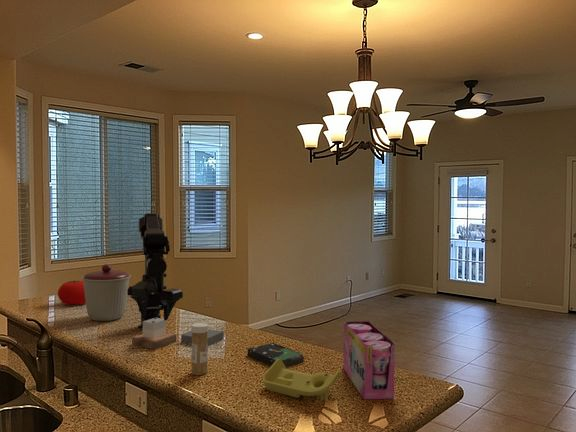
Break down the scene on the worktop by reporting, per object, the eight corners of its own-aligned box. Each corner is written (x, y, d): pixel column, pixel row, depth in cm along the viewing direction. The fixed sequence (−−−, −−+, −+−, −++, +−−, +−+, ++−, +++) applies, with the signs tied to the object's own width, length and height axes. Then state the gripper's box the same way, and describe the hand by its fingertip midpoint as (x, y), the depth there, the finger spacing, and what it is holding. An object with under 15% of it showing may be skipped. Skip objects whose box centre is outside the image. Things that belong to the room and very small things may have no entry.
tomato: (86, 299, 227) (86, 276, 227) (97, 304, 218) (97, 280, 217) (53, 304, 218) (53, 280, 217) (63, 309, 208) (63, 284, 208)
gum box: (397, 401, 120) (398, 346, 120) (365, 402, 119) (366, 346, 119) (368, 367, 144) (369, 320, 144) (342, 368, 143) (343, 321, 143)
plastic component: (258, 380, 126) (281, 354, 133) (268, 402, 129) (289, 376, 136) (321, 395, 114) (342, 366, 121) (331, 420, 116) (351, 390, 123)
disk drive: (246, 357, 152) (278, 370, 141) (246, 348, 152) (278, 360, 141) (272, 351, 159) (304, 362, 148) (272, 342, 159) (304, 353, 148)
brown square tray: (131, 344, 161) (131, 337, 161) (153, 337, 170) (153, 329, 170) (155, 349, 157) (156, 341, 157) (176, 341, 166) (176, 333, 166)
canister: (116, 325, 184) (116, 268, 183) (71, 322, 187) (71, 266, 186) (138, 314, 202) (139, 262, 201) (97, 311, 205) (97, 260, 204)
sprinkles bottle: (208, 375, 136) (208, 326, 135) (191, 376, 135) (191, 326, 134) (207, 369, 140) (207, 321, 139) (190, 370, 139) (190, 322, 138)
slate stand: (181, 342, 165) (181, 334, 165) (199, 334, 174) (199, 327, 174) (206, 346, 160) (206, 339, 160) (223, 338, 169) (223, 331, 169)
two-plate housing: (155, 332, 167) (155, 316, 167) (165, 334, 165) (165, 318, 165) (142, 336, 162) (142, 320, 161) (153, 338, 160) (153, 322, 159)
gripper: (114, 272, 159) (114, 320, 160) (160, 277, 151) (160, 328, 152) (139, 267, 169) (139, 313, 170) (183, 272, 161) (183, 320, 162)
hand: (154, 318), depth 163 cm, fingers open, 9 cm apart
